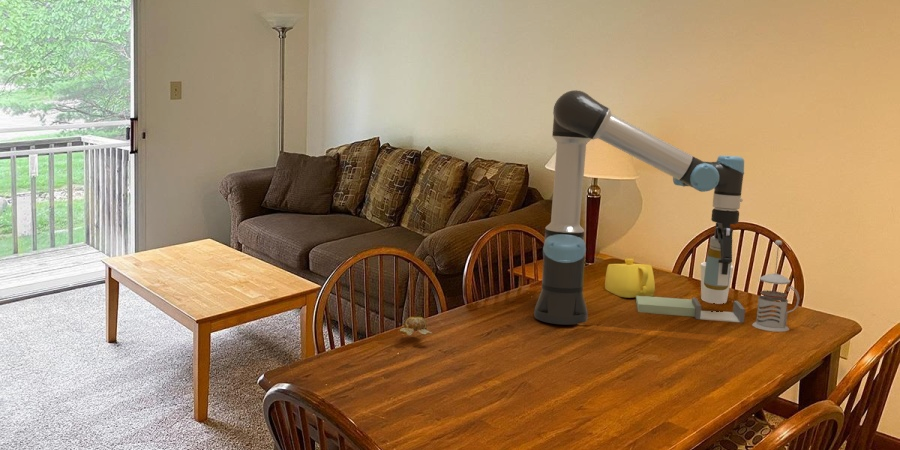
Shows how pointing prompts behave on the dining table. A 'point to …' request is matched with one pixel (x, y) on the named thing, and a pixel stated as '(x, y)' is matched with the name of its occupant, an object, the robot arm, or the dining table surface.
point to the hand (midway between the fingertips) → (718, 280)
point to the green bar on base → (687, 308)
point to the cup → (712, 294)
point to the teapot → (630, 279)
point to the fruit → (415, 326)
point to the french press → (774, 303)
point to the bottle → (713, 266)
